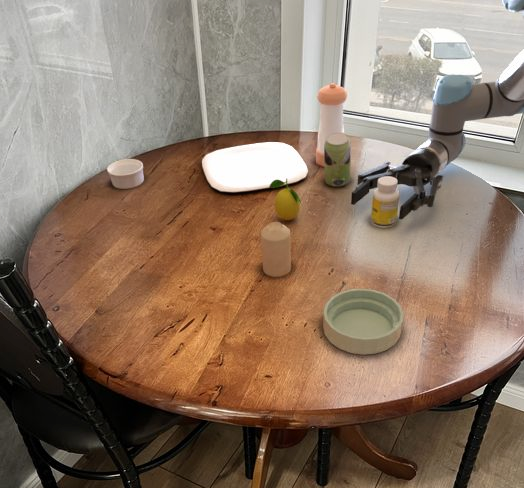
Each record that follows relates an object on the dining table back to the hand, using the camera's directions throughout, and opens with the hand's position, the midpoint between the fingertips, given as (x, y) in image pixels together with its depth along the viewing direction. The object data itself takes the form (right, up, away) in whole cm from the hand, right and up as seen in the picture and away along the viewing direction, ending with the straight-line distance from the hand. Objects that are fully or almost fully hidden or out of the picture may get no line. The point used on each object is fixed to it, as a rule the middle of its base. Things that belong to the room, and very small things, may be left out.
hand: (376, 205), depth 111 cm
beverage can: (-5, +10, +20) cm, 23 cm away
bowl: (-6, -26, -18) cm, 33 cm away
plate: (-26, +16, +28) cm, 41 cm away
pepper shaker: (-6, +19, +29) cm, 35 cm away
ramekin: (-57, +13, +26) cm, 64 cm away
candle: (-20, -14, -4) cm, 25 cm away
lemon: (-18, -1, +9) cm, 20 cm away
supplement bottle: (+3, -2, +7) cm, 7 cm away
